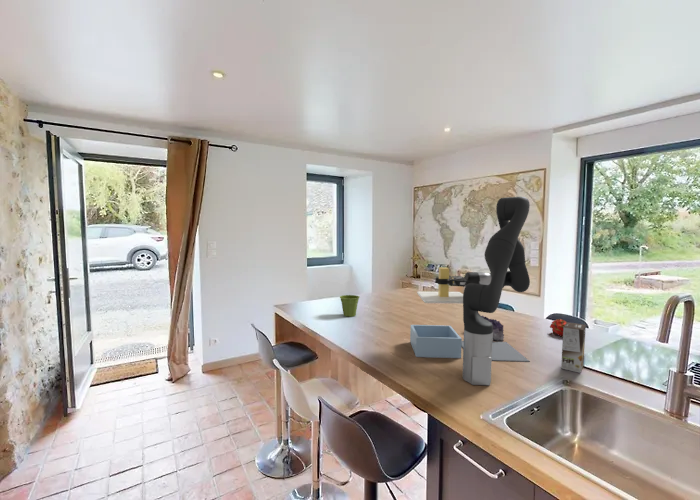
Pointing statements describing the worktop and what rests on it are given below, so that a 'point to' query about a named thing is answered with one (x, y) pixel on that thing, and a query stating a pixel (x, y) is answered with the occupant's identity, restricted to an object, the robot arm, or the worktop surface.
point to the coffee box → (573, 347)
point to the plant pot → (349, 304)
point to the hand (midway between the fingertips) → (437, 280)
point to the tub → (435, 341)
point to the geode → (496, 329)
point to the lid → (442, 292)
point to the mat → (505, 352)
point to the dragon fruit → (558, 326)
